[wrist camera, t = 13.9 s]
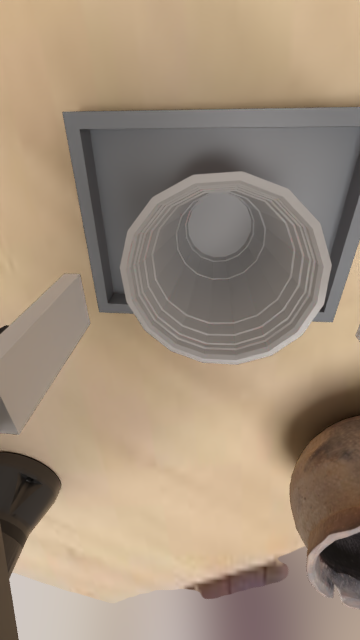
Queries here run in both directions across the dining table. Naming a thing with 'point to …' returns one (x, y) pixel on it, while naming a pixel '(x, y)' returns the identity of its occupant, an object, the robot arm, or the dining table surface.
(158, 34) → the dining table surface
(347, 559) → the ceramic bowl
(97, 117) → the cup tray
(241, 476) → the dining table surface
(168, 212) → the plastic cup
